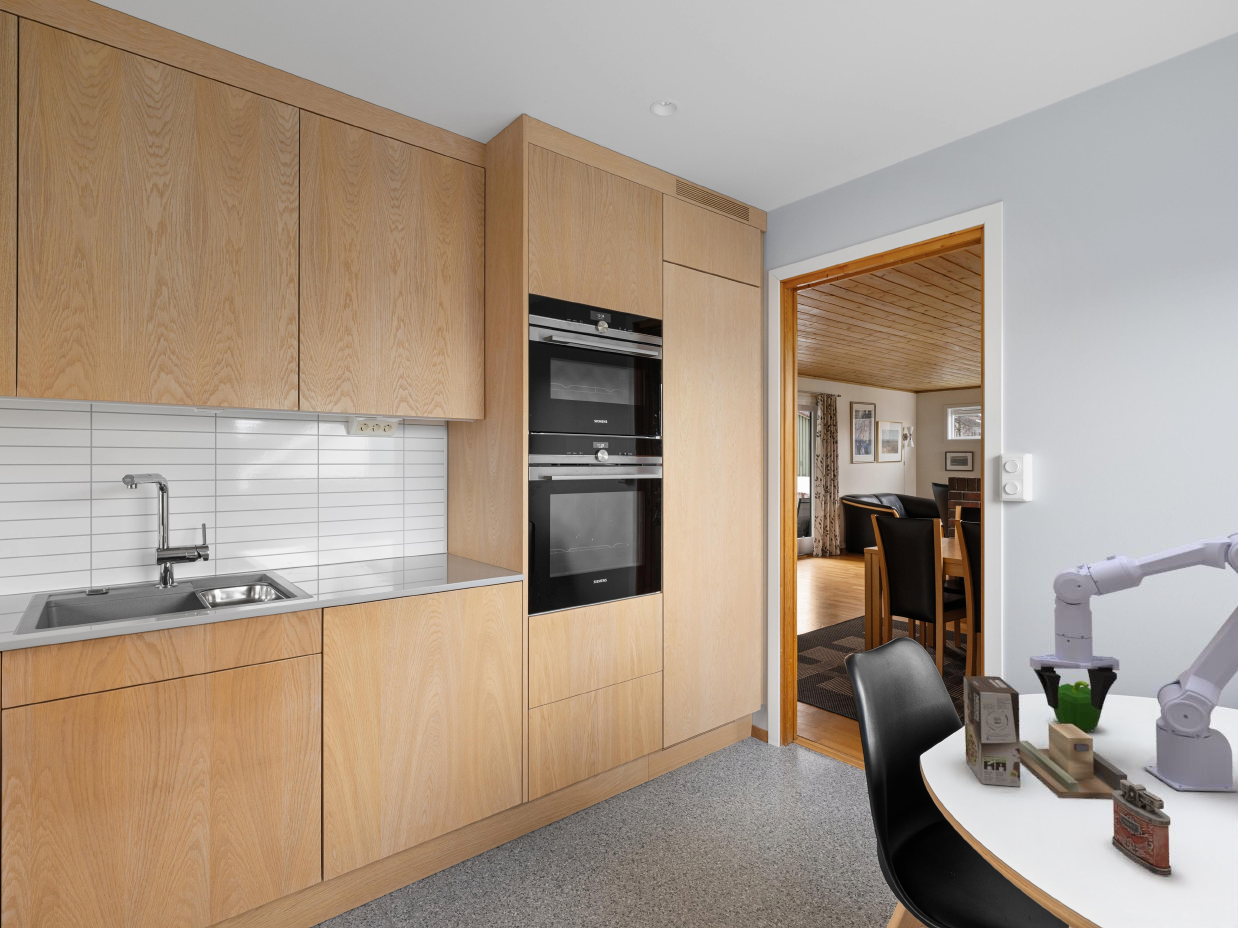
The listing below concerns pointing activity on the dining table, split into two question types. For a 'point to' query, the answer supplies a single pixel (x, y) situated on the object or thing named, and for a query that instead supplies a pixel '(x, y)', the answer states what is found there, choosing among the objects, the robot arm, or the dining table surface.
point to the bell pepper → (1077, 706)
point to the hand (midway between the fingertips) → (1074, 707)
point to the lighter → (1141, 827)
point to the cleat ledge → (1063, 783)
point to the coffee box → (992, 730)
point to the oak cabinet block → (1071, 750)
